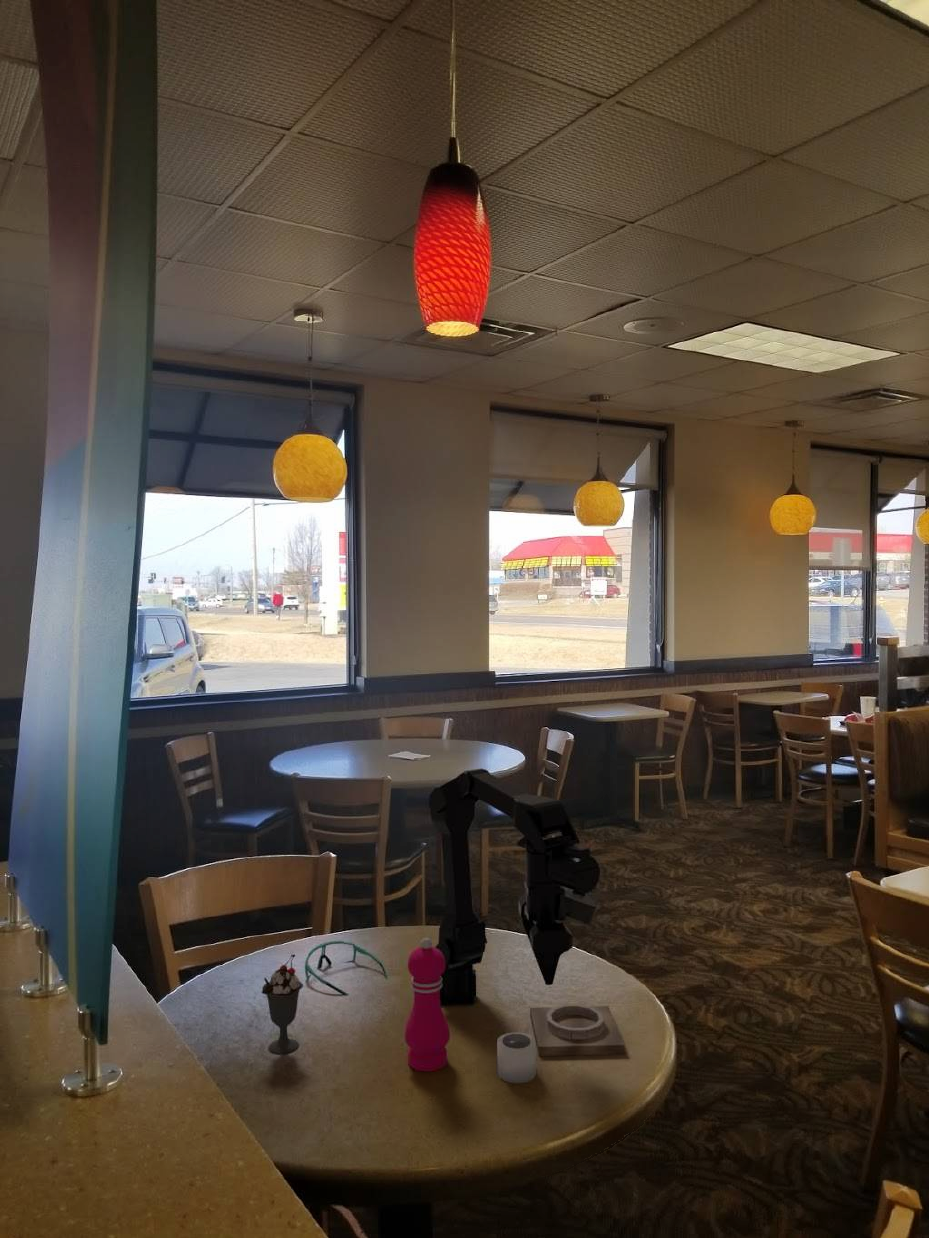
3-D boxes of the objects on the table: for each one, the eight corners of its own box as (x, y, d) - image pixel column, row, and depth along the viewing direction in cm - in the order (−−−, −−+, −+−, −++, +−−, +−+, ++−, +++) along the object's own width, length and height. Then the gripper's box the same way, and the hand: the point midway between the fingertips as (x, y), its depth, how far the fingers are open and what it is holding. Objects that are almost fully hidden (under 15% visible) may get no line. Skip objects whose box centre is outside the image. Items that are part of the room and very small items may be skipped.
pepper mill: (416, 1077, 140) (414, 949, 139) (397, 1057, 146) (396, 934, 146) (457, 1066, 143) (456, 941, 143) (438, 1046, 149) (436, 926, 149)
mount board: (538, 1055, 146) (538, 1037, 146) (530, 1016, 160) (529, 999, 160) (624, 1053, 146) (624, 1035, 146) (608, 1014, 160) (608, 997, 160)
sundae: (311, 1040, 152) (310, 952, 152) (291, 1059, 146) (289, 967, 145) (277, 1034, 154) (275, 947, 154) (255, 1053, 148) (254, 962, 147)
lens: (498, 1083, 138) (498, 1050, 138) (496, 1063, 144) (496, 1031, 144) (537, 1082, 138) (537, 1049, 138) (533, 1062, 144) (533, 1030, 144)
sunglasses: (348, 956, 188) (349, 933, 188) (395, 984, 178) (396, 960, 178) (292, 977, 178) (293, 952, 178) (338, 1007, 168) (340, 982, 167)
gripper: (604, 894, 139) (605, 995, 139) (581, 860, 157) (582, 949, 157) (532, 897, 138) (534, 998, 138) (517, 862, 156) (518, 951, 157)
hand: (544, 972), depth 148 cm, fingers open, 9 cm apart
